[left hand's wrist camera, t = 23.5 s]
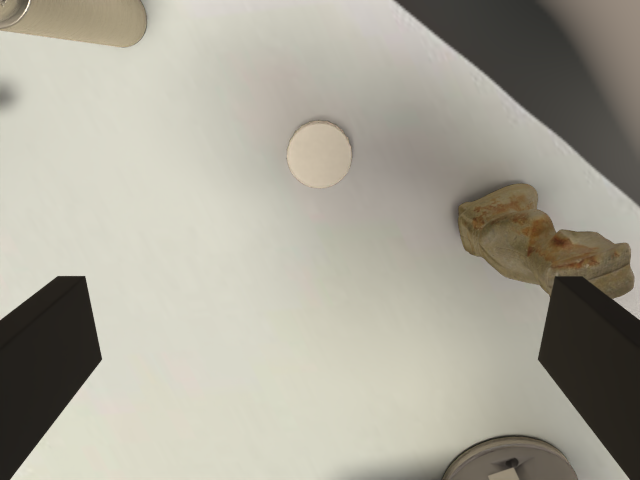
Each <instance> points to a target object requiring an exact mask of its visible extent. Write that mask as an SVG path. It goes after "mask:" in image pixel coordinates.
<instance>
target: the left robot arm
mask: <svg viewBox="0 0 640 480" xmlns="http://www.w3.org/2000/svg"><path fill="white" fill-rule="evenodd" d="M101 360H102V357H101V352H100V347H99V342H98V337H97V332H96V327H95V322H94V317H93V312H92V307H91V302H90V298H89V293H88V288H87V283H86V278H85V276H57V277H56V278H55V279H53V280H52V281H51V282H50V283H48V284H47V285H46V286H44V287H43V288H42V289H40V290H39V291H38V292H37V293H35V294H34V295H33V296H31V297H30V298H29V299H27V300H26V301H25V302H23V303H22V304H21V305H20V306H18V307H17V308H16V309H14V310H13V311H12V312H10V313H9V314H8V315H7V316H5V317H4V318H3V319H1V320H0V480H10V479H11V478H12V476H13V475H14V474H15V472H16V471H17V470H18V468H19V467H20V466H21V465H22V463H23V462H24V461H25V459H26V458H27V457H28V455H29V454H30V453H31V451H32V450H33V449H34V448H35V446H36V445H37V444H38V442H39V441H40V440H41V438H42V437H43V436H44V435H45V433H46V432H47V431H48V429H49V428H50V427H51V425H52V424H53V423H54V421H55V420H56V419H57V418H58V416H59V415H60V414H61V412H62V411H63V410H64V408H65V407H66V406H67V405H68V403H69V402H70V401H71V399H72V398H73V397H74V395H75V394H76V393H77V391H78V390H79V389H80V388H81V386H82V385H83V384H84V382H85V381H86V380H87V378H88V377H89V376H90V374H91V373H92V372H93V371H94V369H95V368H96V367H97V365H98V364H99V363H100V361H101ZM538 360H539V361H540V363H541V364H542V365H543V367H544V368H545V369H546V371H547V372H548V373H549V374H550V376H551V377H552V378H553V380H554V381H555V382H556V384H557V385H558V386H559V388H560V389H561V390H562V391H563V393H564V394H565V395H566V397H567V398H568V399H569V401H570V402H571V403H572V405H573V406H574V407H575V408H576V410H577V411H578V412H579V414H580V415H581V416H582V418H583V419H584V420H585V421H586V423H587V424H588V425H589V427H590V428H591V429H592V431H593V432H594V433H595V435H596V436H597V437H598V438H599V440H600V441H601V442H602V444H603V445H604V446H605V448H606V449H607V450H608V451H609V453H610V454H611V455H612V457H613V458H614V459H615V461H616V462H617V463H618V465H619V466H620V467H621V468H622V470H623V471H624V472H625V474H626V475H627V476H628V478H629V479H630V480H640V320H639V319H637V318H636V317H635V316H633V315H632V314H631V313H630V312H628V311H627V310H626V309H624V308H623V307H622V306H620V305H619V304H618V303H617V302H615V301H614V300H613V299H611V298H610V297H609V296H607V295H606V294H605V293H603V292H602V291H601V290H600V289H598V288H597V287H596V286H594V285H593V284H592V283H590V282H589V281H588V280H587V279H585V278H584V277H583V276H555V278H554V283H553V288H552V293H551V298H550V302H549V307H548V312H547V317H546V322H545V327H544V332H543V337H542V342H541V347H540V352H539V357H538ZM442 480H578V478H577V475H576V473H575V471H574V470H573V468H572V467H571V465H570V464H569V462H568V460H567V459H566V458H565V456H564V455H563V454H562V453H561V452H560V451H559V450H558V449H556V448H555V447H553V446H552V445H550V444H548V443H546V442H543V441H540V440H537V439H533V438H527V437H503V438H498V439H493V440H489V441H486V442H483V443H481V444H479V445H476V446H474V447H472V448H470V449H469V450H467V451H466V452H464V453H463V454H461V455H460V456H459V457H458V458H457V459H456V460H455V461H454V462H453V463H452V464H451V465H450V466H449V468H448V469H447V471H446V472H445V474H444V476H443V478H442Z"/></svg>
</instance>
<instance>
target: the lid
mask: <svg viewBox="0 0 640 480" xmlns="http://www.w3.org/2000/svg"><path fill="white" fill-rule="evenodd" d="M289 142H290V144H289V146H288V148H287V161H288V166H289V168H290V171H291V172H292V174H293V175H294V177H295V178H296V179H297V180H298V181H300V182H301V183H302V184H304V185H306V186H309V187H312V188H327V187H330V186H333V185H335V184H336V183H338V182H339V181H341V180H342V179H343V178H344V176H345V175H346V174H347V172H348V170H349V168H350V166H351V160H352V151H351V149H352V147H351V145H350V144H349V139H348V137H346V135H345V134H344V132H343V130H341V129H340V128H339V127H337V126H336V124H335V125H334V124H332V123H330V122H328V121H327V122H326V121H319V120H318V121H313V122H311V121H309V123H307V124H305V125H302V126H301V127H300V128H299V129H298V130H297V131H295V133H294V135H293V137H292V138H291V139H290V141H289Z"/></svg>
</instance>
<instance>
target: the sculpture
mask: <svg viewBox="0 0 640 480" xmlns="http://www.w3.org/2000/svg"><path fill="white" fill-rule="evenodd" d="M537 201H538V195H537V192H536V190H535V189H534V188H533V187H532V186H531V185H528V184H513V185H509V186H506V187H504V188H501V189H499V190H497V191H495V192H492V193H490V194H488V195H486V196H484V197H483V198H480V199H478V200H476V201H473V202H465V203H463V204H461V205H460V206H459V208H458V211H459V217H458V225H459V231H460V236H461V240H462V243H463V246H464V248H465V250H466V251H467V252H469V253H470V254H472V255H475V256H479V257H483V258H484V259H485V260H486V261H487V262H488V263H489V264H490V265H491V266H492V267H494V268H495V269H496V270H497V271H498V272H499V273H500V274H502V275H503V276H505V277H507V278H510V279H514V280H518V281H523V282H527V283H532V284H538V285H540V286H541V287H542V288H543V289H544V290H545V291H546V292H547V293H548V294H549V295H550V298H551V293H552V288H553V283H554V278H555V276H583V277H584V278H585V279H587V280H588V281H589V282H590V283H592V284H593V285H594V286H596V287H597V288H598V289H600V290H601V291H602V292H603V293H605V294H606V295H607V296H609V297H610V298H611V299H613V298H617V297H620V296H622V295H624V294H626V293H628V292H629V291H631V290H632V289H633V287H634V274H633V272H632V270H631V267H630V258H631V249H630V246H629V244H627V243H619V244H614V243H612V242H611V241H610V240H608V239H605V238H604V237H603V236H602V235H600V234H599V233H597V232H575V231H570V230H559V231H558V232H557V233H556V231H555V229H554V226H553V223H552V221H551V219H550V217H549V216H548V215H547V214H546V213H544V212H542V211H540V210H537Z"/></svg>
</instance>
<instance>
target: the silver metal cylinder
mask: <svg viewBox="0 0 640 480" xmlns="http://www.w3.org/2000/svg"><path fill="white" fill-rule="evenodd" d="M146 24H147V19H146V13H145V9H144V7H143V5H142V3H141V1H140V0H0V30H1V31H8V32H15V33H22V34H29V35H37V36H44V37H51V38H58V39H65V40H72V41H80V42H87V43H94V44H101V45H108V46H115V47H129V46H132V45H134V44H136V43H137V42H138V41H139V40H140V39H141V38H142V36H143V35H144V32H145V29H146Z"/></svg>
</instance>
